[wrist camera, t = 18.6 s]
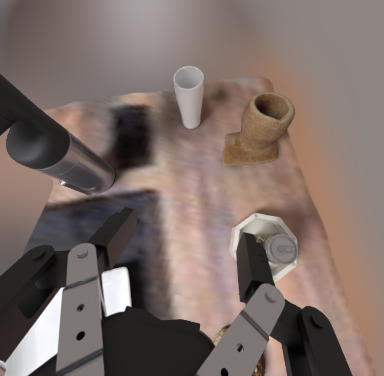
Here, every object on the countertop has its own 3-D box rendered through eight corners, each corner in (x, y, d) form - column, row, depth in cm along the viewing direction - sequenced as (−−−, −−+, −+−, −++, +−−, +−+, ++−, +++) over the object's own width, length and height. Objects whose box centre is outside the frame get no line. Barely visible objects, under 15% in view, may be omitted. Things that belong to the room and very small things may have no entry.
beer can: (269, 234, 41) (297, 232, 29) (272, 258, 39) (302, 267, 28) (246, 233, 41) (265, 232, 30) (248, 257, 40) (268, 266, 28)
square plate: (133, 263, 42) (126, 265, 38) (153, 407, 34) (148, 428, 30) (21, 292, 41) (4, 298, 37) (18, 446, 33) (-5, 473, 30)
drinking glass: (186, 109, 53) (181, 61, 38) (206, 117, 52) (209, 71, 37) (176, 126, 51) (167, 83, 37) (196, 135, 50) (195, 94, 36)
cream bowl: (254, 288, 39) (260, 293, 35) (219, 236, 42) (221, 236, 38) (299, 253, 40) (310, 254, 37) (262, 206, 44) (268, 203, 40)
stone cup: (270, 127, 50) (298, 83, 36) (277, 165, 47) (312, 133, 32) (217, 131, 50) (225, 88, 36) (221, 168, 47) (231, 138, 33)
